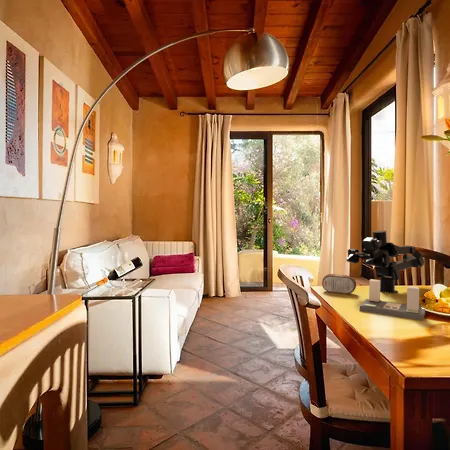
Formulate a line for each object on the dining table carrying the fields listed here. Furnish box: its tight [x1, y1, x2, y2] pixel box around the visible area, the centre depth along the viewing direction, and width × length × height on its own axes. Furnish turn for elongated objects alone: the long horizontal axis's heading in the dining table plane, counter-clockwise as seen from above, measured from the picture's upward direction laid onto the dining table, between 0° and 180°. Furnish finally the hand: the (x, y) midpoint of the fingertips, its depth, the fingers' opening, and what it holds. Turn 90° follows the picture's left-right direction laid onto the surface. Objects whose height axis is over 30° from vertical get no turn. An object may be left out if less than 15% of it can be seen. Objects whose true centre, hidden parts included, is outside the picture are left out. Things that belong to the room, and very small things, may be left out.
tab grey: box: [406, 285, 420, 311], centre depth 125 cm, size 3×4×8 cm
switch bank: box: [359, 298, 426, 322], centre depth 131 cm, size 12×21×2 cm, turn 56°
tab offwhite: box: [368, 278, 381, 302], centre depth 138 cm, size 3×4×8 cm
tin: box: [321, 273, 357, 295], centre depth 161 cm, size 15×3×8 cm, turn 65°
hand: (356, 261), depth 149 cm, fingers open, 9 cm apart
